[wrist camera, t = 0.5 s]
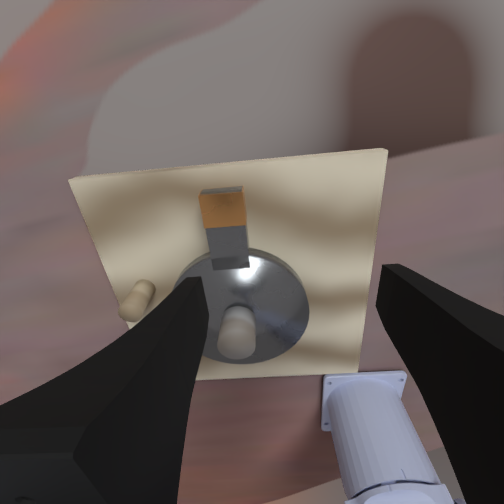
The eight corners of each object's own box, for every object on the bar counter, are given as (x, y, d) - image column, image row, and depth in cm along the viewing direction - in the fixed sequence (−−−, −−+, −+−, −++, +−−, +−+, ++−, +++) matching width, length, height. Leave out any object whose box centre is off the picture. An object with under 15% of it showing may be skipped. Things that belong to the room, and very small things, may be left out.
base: (354, 363, 27) (379, 430, 21) (154, 373, 28) (130, 438, 23) (381, 148, 17) (438, 169, 12) (77, 176, 18) (1, 207, 13)
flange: (306, 348, 23) (309, 361, 22) (188, 354, 23) (184, 367, 22) (307, 179, 16) (311, 185, 15) (141, 194, 17) (132, 201, 15)
